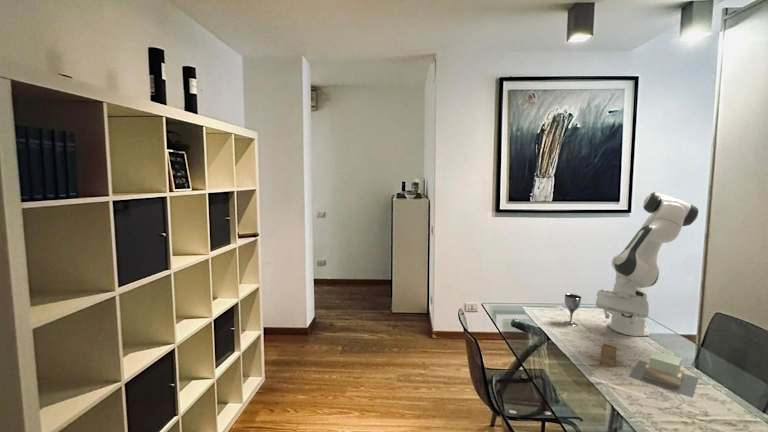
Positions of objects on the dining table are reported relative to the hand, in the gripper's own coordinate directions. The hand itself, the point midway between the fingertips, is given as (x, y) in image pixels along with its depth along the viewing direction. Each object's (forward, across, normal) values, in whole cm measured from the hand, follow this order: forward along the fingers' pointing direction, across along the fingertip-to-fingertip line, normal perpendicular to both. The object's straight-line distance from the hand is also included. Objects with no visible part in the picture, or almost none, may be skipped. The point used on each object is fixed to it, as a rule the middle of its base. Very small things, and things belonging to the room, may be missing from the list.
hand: (619, 320), depth 173 cm
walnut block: (+20, -2, +3) cm, 20 cm away
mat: (+19, +18, +3) cm, 26 cm away
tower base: (+18, +18, +3) cm, 26 cm away
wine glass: (-9, -23, +32) cm, 41 cm away
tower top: (+16, +18, 0) cm, 24 cm away
